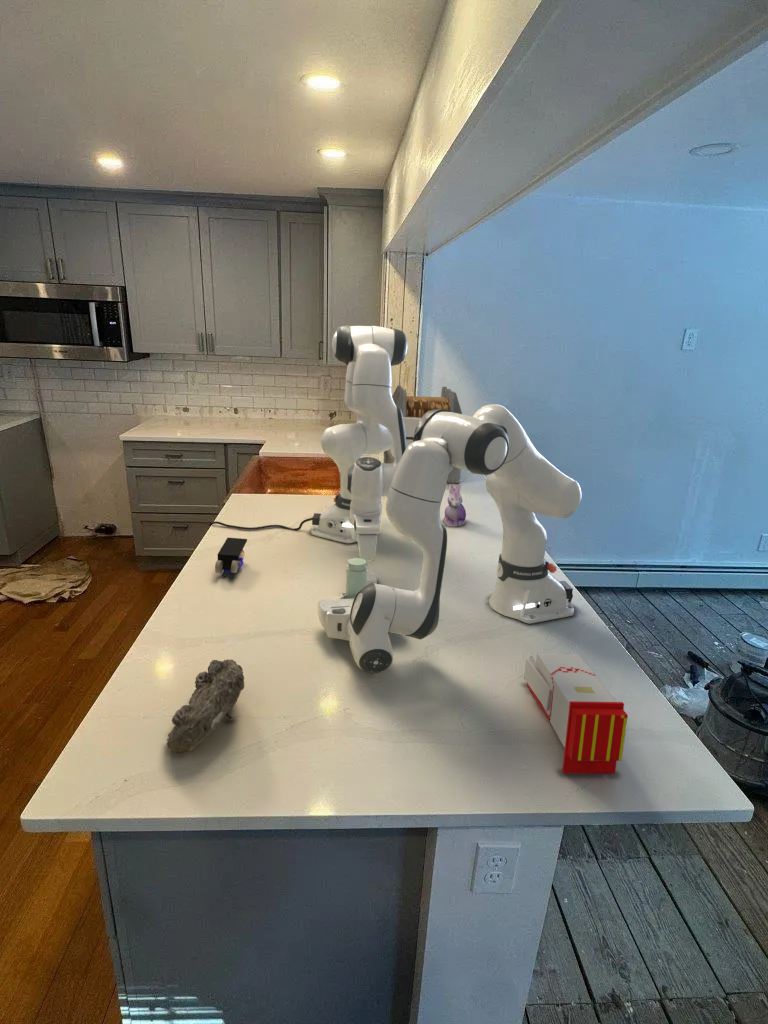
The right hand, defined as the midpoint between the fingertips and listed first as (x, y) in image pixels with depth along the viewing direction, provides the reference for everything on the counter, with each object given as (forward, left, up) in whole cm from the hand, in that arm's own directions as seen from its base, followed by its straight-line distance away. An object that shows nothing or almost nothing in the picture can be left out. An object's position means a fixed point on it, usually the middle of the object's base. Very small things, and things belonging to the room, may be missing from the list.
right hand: (355, 594), depth 145 cm
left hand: (-5, -19, +1) cm, 20 cm away
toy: (-35, +45, -6) cm, 58 cm away
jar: (0, +1, -6) cm, 6 cm away
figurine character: (+32, -30, -6) cm, 44 cm away
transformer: (-50, -129, -6) cm, 139 cm away
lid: (-6, -17, -4) cm, 19 cm away
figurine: (-47, -62, -6) cm, 78 cm away
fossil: (+32, +35, -6) cm, 48 cm away
